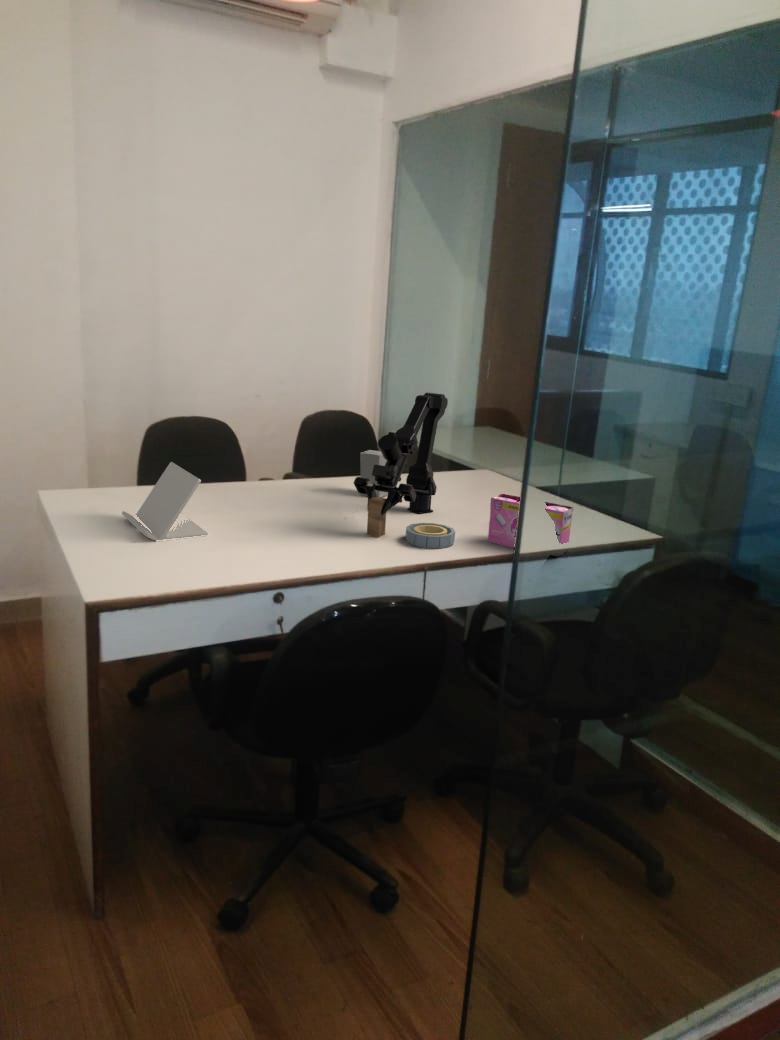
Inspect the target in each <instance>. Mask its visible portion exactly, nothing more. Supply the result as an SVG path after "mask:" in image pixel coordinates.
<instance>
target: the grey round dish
mask: <svg viewBox="0 0 780 1040" xmlns="http://www.w3.org/2000/svg"><path fill="white" fill-rule="evenodd" d="M455 538H456V530H455V528H453V527H451V526H449V525H446V524H440V523H436V522H435V523H434V522H418V523H411V524H409V525H407V526H406V527H405V542H406V543H408V544H410V545H412V546H414V547H418V548H423V549H434V550H435V549H436V550H437V549H438V550H439V549H446V548H449V547H452V546H453V545H454V543H455V540H456V539H455Z"/></svg>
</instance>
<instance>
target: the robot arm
mask: <svg viewBox="0 0 780 1040" xmlns="http://www.w3.org/2000/svg"><path fill="white" fill-rule="evenodd" d="M448 401H449V400H448V398H447V397H446V395H445V394H443V393H435V392H427V391H426V392H424V394H419V395H416V396H415V400H414V405H413V407H412V409H411V410H410V412H409V414H408V416H407V418H406V420H405V422H404V425H403V426H402V427H400V428H398V429H397V430H396V431H395V432H392V431H389V432H388V434H385V435H383V436H381V437H380V438H379V439H378V442H377V445H378V448H379V451H381V453H382V455H383V457H384V458H385V459H386V460H387V461H386V463H385V466H382V465H374V467H373V471H372V476H375V481H377V484H375V483H374V482H370V480H369V478H365V477H360V476H356V477H355V478H354V481H353V484H354V485H353V486H354V487H355V489H356V491H357V493H359V494H360V495H361V494H366V495H368V496H367V505H368V504H369V499H371V498H373V497H377V495H376V491H381V492H387V493H388V495H387V496H386V498H385V499H386V501H385V503H384V505H383V508H382V511H381V514H382V515H383V514H385V513H386V514H387V512H388V511H390V510H391V509H392V508H393V507H395V506H396V505H397V504H399V503H403V501H405V502H408V503H409V507H407V510H408V511H411V512H413V513H415V514H417V515H418V514H419V515H420V514H427V513H433V512H434V510H433V509H432V508H431V506H432V496H436V492H437V484H436V481H435V480H434V471H433V469H432V466H431V462H432V456H433V451H434V445H435V438H436V435H437V428H438V422H439V421H440V420H441V419H442V417H443V416H444V415H445V413H446V409H447V407H448ZM420 429H421V432H420V438H419V440H418V438H417V437H418V434H419V431H420ZM418 442H419V443H418ZM417 448H418V449H417ZM416 450H417V454H416V460H415V462H414V463H413V465H410V466H409V467H408V459H407V456H406V455H414V453H415V452H416ZM405 467H407V468H408V474H407V476H406V481H405V482H406V483H400V482H401V481H402V477H401V476H402V474H403V471H404V468H405ZM398 484H399V485H398ZM397 485H398V487H397Z"/></svg>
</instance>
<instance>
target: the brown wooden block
mask: <svg viewBox="0 0 780 1040" xmlns="http://www.w3.org/2000/svg"><path fill="white" fill-rule="evenodd" d="M386 499H387V498H385V497H381V498H380V497H373V498H371V499H369V504H368V503H367V528H366V536H368V537H373V538H381V537H383V536H385V535H386V522H387V520H386V519H387V512H386V513H385V514H383V515H382V514H381V511H382V508H383V505H384V503H385V501H386Z"/></svg>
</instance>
